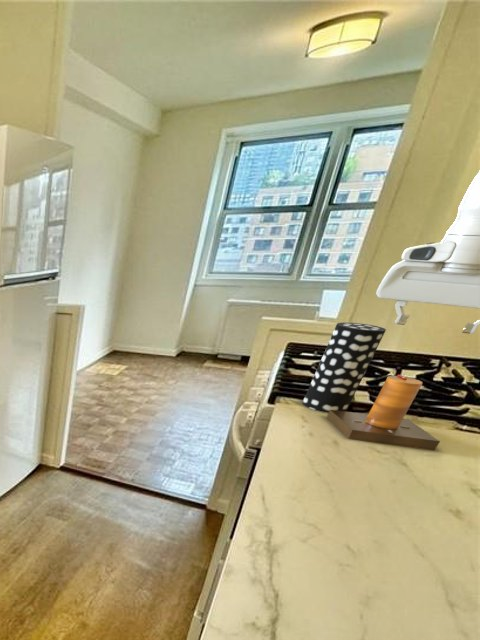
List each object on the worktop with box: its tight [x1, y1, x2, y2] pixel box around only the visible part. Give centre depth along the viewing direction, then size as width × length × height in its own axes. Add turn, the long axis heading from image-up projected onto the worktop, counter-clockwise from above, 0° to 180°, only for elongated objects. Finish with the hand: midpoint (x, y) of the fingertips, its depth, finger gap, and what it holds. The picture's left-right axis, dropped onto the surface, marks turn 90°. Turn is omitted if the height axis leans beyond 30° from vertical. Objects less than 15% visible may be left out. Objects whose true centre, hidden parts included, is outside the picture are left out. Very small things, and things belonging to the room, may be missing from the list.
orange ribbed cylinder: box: [365, 374, 423, 429], centre depth 101 cm, size 5×5×10 cm
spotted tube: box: [302, 322, 387, 414], centre depth 113 cm, size 8×8×20 cm
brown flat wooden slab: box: [326, 410, 441, 451], centre depth 104 cm, size 14×12×3 cm
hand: (432, 328), depth 94 cm, fingers open, 8 cm apart
